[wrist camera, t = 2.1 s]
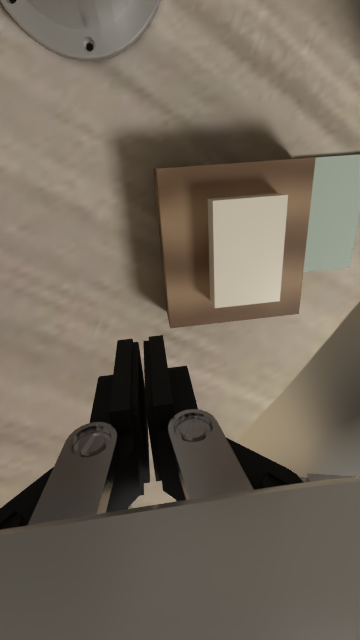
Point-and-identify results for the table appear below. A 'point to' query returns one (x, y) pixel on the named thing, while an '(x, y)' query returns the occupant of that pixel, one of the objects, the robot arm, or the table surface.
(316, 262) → the mat
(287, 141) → the table surface
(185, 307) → the flat brown wooden block
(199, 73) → the table surface
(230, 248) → the cream rectangular block
